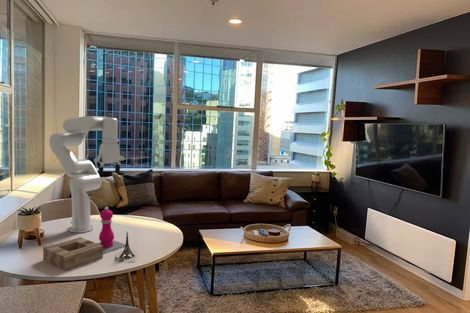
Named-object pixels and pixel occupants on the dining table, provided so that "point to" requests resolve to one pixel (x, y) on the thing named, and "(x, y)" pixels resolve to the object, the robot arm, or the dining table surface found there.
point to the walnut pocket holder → (72, 253)
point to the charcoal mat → (115, 246)
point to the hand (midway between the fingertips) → (109, 173)
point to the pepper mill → (106, 228)
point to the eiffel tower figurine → (126, 252)
